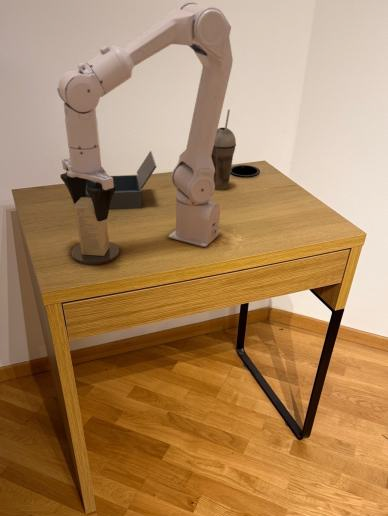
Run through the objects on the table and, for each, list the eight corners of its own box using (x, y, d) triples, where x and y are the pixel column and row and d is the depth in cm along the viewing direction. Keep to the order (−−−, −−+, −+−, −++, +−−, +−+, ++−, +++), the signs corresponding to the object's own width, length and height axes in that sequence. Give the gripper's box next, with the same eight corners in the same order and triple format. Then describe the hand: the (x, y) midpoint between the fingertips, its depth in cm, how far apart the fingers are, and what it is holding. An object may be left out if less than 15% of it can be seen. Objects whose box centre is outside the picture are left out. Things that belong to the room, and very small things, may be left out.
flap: (136, 172, 131) (137, 173, 131) (140, 188, 122) (141, 189, 122) (150, 150, 128) (151, 151, 128) (155, 165, 119) (156, 166, 120)
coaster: (127, 249, 108) (127, 246, 108) (101, 269, 101) (100, 266, 101) (90, 238, 111) (90, 236, 111) (62, 257, 104) (61, 254, 104)
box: (109, 247, 107) (105, 198, 100) (104, 256, 104) (99, 206, 97) (86, 245, 108) (80, 196, 101) (80, 254, 104) (73, 204, 97)
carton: (137, 190, 134) (137, 174, 132) (141, 207, 125) (141, 191, 123) (87, 192, 132) (85, 176, 130) (87, 210, 123) (85, 193, 121)
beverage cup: (202, 183, 140) (205, 107, 127) (225, 180, 142) (231, 105, 129) (213, 193, 134) (217, 114, 122) (237, 189, 137) (243, 112, 124)
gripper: (44, 139, 94) (55, 207, 102) (87, 159, 86) (95, 231, 94) (76, 132, 98) (84, 198, 106) (120, 151, 90) (125, 221, 98)
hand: (91, 213), depth 100 cm, fingers open, 7 cm apart
